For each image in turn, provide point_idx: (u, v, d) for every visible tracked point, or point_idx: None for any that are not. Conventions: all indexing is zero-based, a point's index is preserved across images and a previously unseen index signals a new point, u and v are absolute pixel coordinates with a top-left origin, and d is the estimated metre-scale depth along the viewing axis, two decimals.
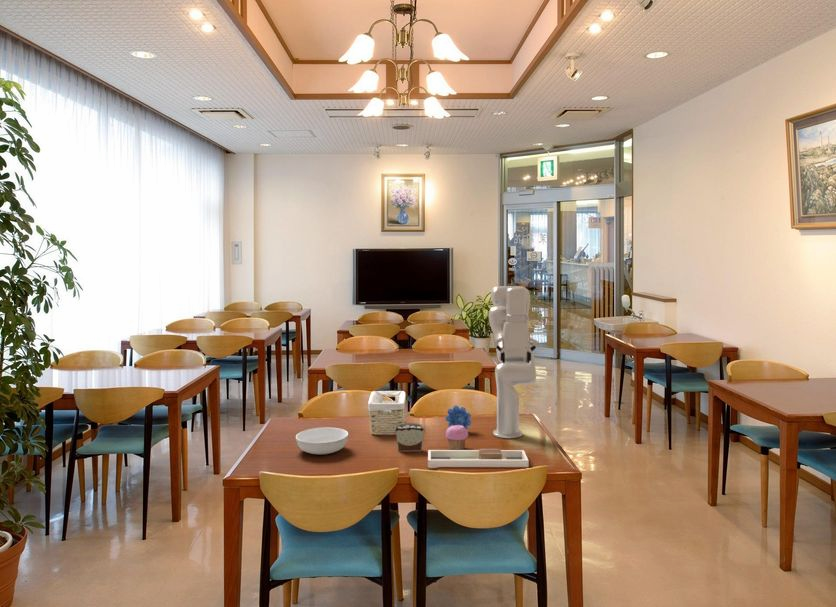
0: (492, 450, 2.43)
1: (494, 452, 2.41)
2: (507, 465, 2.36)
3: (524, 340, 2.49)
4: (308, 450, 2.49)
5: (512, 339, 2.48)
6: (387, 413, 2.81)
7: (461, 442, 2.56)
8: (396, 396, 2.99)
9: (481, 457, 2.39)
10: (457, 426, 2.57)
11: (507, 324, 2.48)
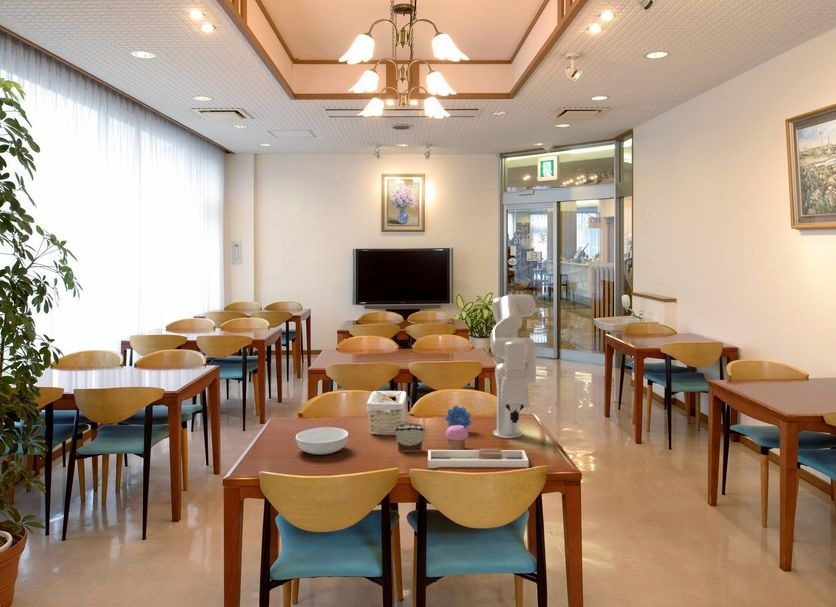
0: (492, 450, 2.43)
1: (494, 452, 2.41)
2: (507, 465, 2.36)
3: (523, 396, 2.38)
4: (308, 450, 2.49)
5: (511, 395, 2.38)
6: (386, 413, 2.81)
7: (461, 441, 2.56)
8: (397, 396, 2.99)
9: (481, 457, 2.39)
10: (457, 426, 2.57)
11: (505, 379, 2.38)
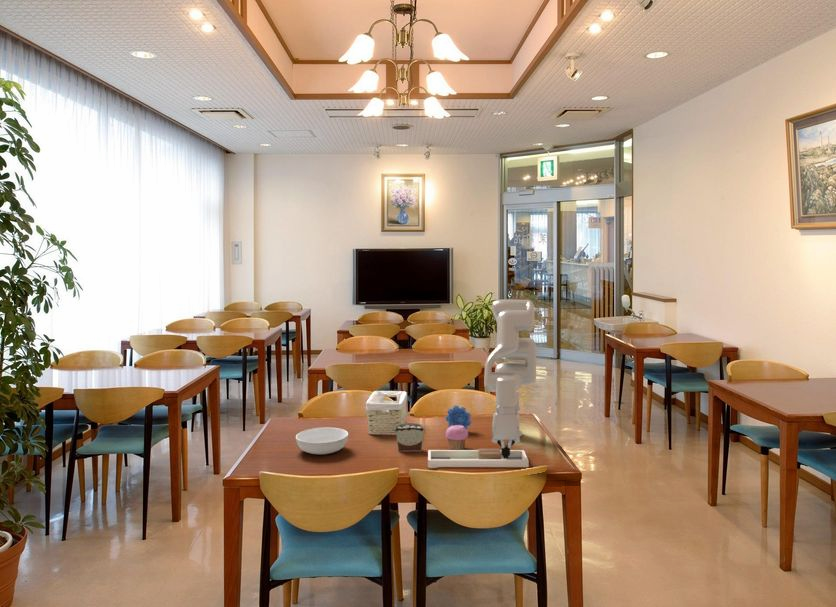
0: (491, 450, 2.43)
1: (493, 452, 2.41)
2: (507, 465, 2.36)
3: (514, 432, 2.39)
4: (308, 450, 2.49)
5: (502, 431, 2.39)
6: (385, 413, 2.81)
7: (461, 442, 2.56)
8: (398, 396, 2.99)
9: (480, 457, 2.39)
10: (457, 426, 2.57)
11: (497, 416, 2.39)
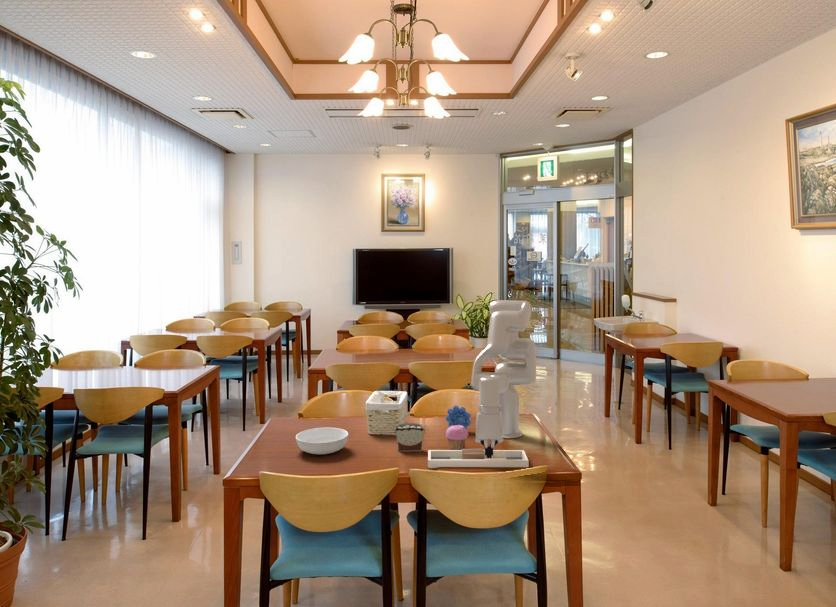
0: (475, 450, 2.43)
1: (477, 452, 2.41)
2: (507, 465, 2.36)
3: (497, 432, 2.39)
4: (308, 450, 2.49)
5: (485, 431, 2.39)
6: (384, 413, 2.81)
7: (461, 442, 2.56)
8: (398, 396, 2.99)
9: (464, 457, 2.39)
10: (457, 426, 2.57)
11: (480, 415, 2.39)
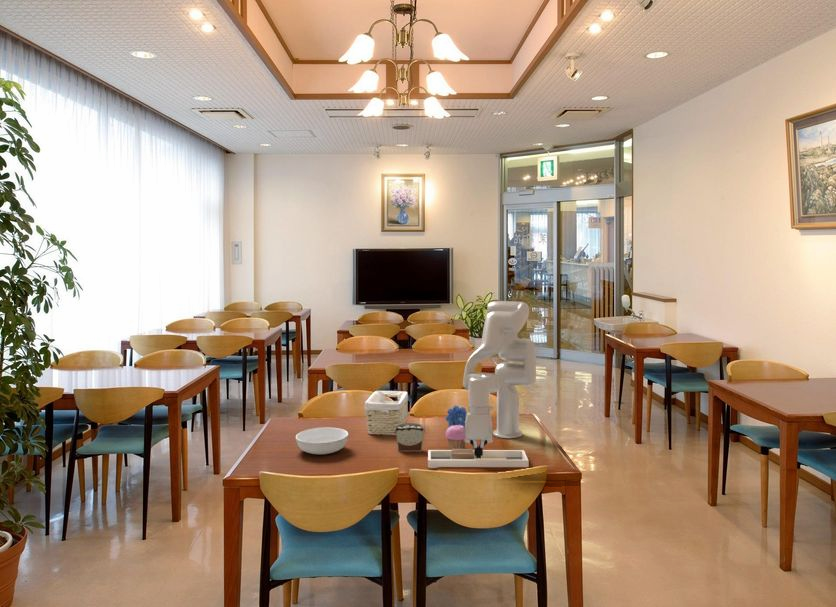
0: (464, 450, 2.43)
1: (466, 452, 2.41)
2: (507, 465, 2.36)
3: (487, 432, 2.39)
4: (308, 450, 2.49)
5: (474, 431, 2.39)
6: (384, 413, 2.81)
7: (461, 442, 2.56)
8: (398, 396, 2.98)
9: (453, 457, 2.39)
10: (457, 426, 2.57)
11: (469, 415, 2.39)
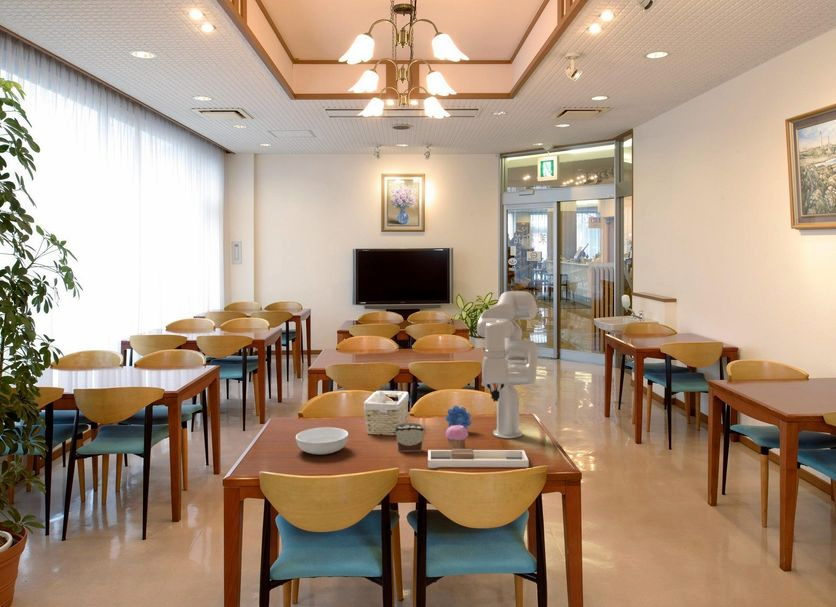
0: (464, 450, 2.43)
1: (466, 452, 2.41)
2: (507, 465, 2.36)
3: (503, 376, 2.45)
4: (308, 450, 2.49)
5: (491, 375, 2.45)
6: (383, 413, 2.81)
7: (461, 441, 2.56)
8: (399, 396, 2.98)
9: (453, 457, 2.39)
10: (457, 426, 2.57)
11: (486, 360, 2.44)
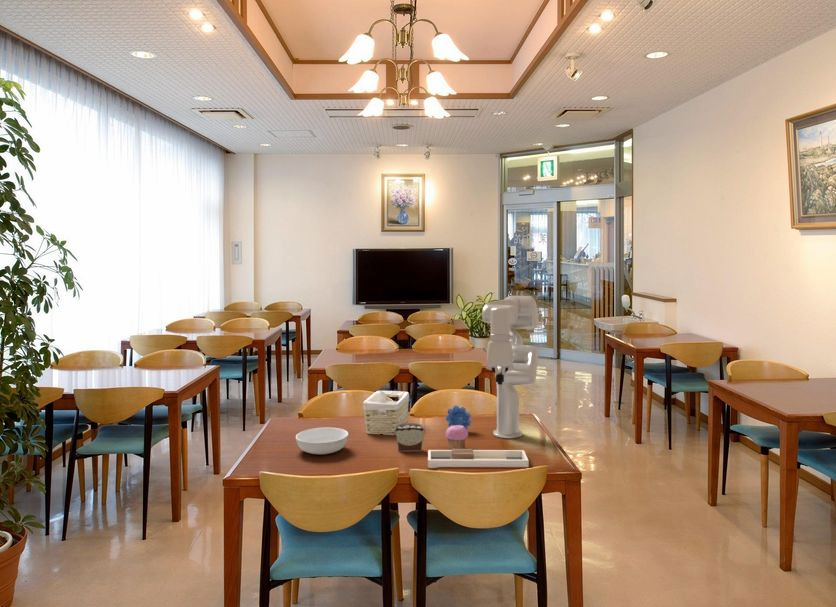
0: (464, 450, 2.43)
1: (466, 452, 2.41)
2: (507, 465, 2.36)
3: (508, 359, 2.52)
4: (308, 450, 2.49)
5: (496, 358, 2.52)
6: (382, 413, 2.81)
7: (461, 442, 2.56)
8: (400, 396, 2.98)
9: (453, 457, 2.39)
10: (457, 426, 2.57)
11: (491, 343, 2.52)
